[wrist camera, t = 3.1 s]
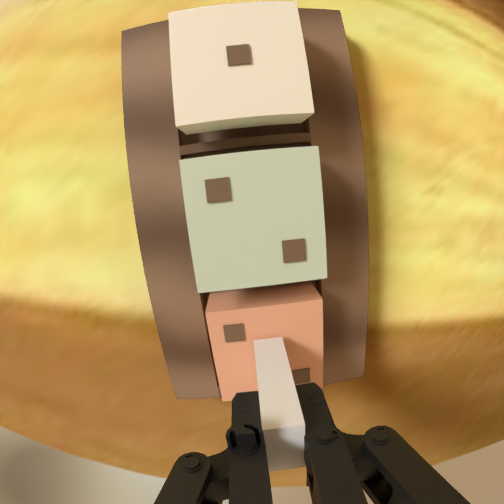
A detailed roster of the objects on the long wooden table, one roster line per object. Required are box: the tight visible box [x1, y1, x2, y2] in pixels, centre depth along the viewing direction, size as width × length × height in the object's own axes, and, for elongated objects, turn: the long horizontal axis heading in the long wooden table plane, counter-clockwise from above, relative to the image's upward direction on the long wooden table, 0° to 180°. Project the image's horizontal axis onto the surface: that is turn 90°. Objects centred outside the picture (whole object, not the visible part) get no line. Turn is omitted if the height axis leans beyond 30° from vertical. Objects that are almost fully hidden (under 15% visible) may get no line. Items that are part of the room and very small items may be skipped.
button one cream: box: [168, 1, 314, 135], centre depth 13 cm, size 6×6×3 cm
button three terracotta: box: [205, 280, 323, 401], centre depth 18 cm, size 6×6×3 cm
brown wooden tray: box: [122, 8, 369, 400], centre depth 18 cm, size 24×13×2 cm, turn 6°
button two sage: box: [179, 146, 327, 293], centre depth 15 cm, size 6×6×3 cm
